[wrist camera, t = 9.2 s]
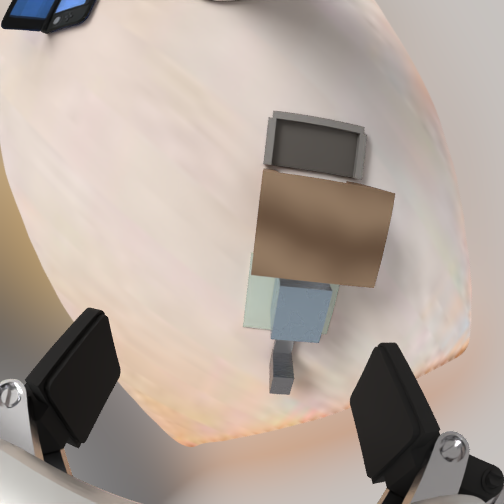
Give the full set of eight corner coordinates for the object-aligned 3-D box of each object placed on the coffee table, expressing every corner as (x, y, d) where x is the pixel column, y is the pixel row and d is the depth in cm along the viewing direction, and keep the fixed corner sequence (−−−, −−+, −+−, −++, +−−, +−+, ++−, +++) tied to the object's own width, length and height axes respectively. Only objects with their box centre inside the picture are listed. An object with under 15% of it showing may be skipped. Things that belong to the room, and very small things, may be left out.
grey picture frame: (269, 112, 27) (269, 110, 26) (364, 129, 27) (367, 128, 25) (263, 164, 28) (263, 163, 27) (358, 178, 28) (361, 179, 27)
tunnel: (263, 168, 29) (262, 171, 19) (356, 183, 29) (395, 193, 19) (255, 240, 31) (250, 275, 22) (344, 251, 31) (373, 287, 22)
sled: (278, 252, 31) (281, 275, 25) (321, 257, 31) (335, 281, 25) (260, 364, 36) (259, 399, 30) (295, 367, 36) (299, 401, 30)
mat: (251, 252, 32) (251, 252, 31) (344, 263, 32) (344, 264, 31) (243, 325, 35) (243, 326, 35) (326, 333, 35) (326, 334, 34)
